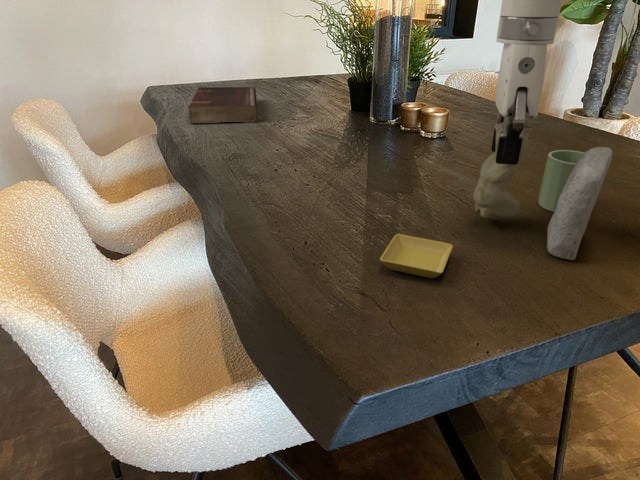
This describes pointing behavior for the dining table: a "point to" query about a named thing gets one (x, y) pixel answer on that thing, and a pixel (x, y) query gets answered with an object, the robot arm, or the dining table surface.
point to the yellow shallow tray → (416, 256)
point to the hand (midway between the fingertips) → (504, 156)
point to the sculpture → (497, 182)
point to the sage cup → (556, 176)
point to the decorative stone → (577, 203)
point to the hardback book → (223, 105)
